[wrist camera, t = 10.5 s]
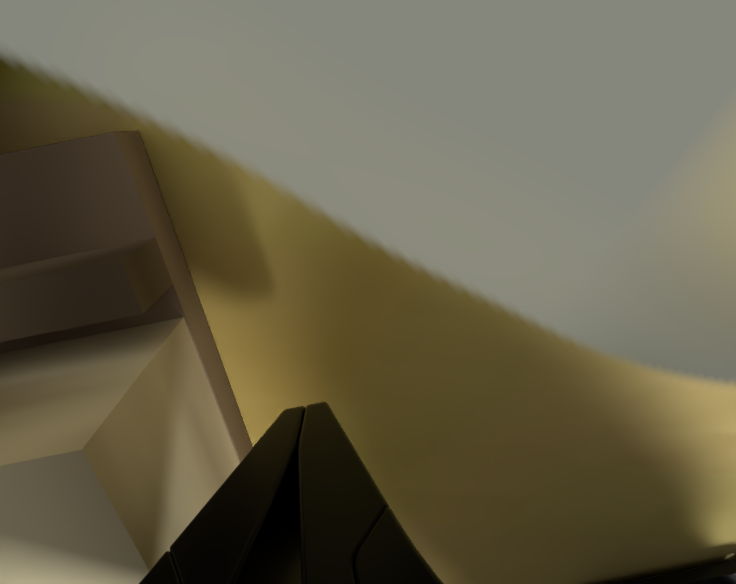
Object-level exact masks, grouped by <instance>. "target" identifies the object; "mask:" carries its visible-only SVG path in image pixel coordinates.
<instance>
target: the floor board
mask: <svg viewBox="0 0 736 584" xmlns="http://www.w3.org/2000/svg"><path fill="white" fill-rule="evenodd" d="M182 317H184V319H185V322H186V324H187V327H188V330H189V332H190V335H191V337H192V340H193V343H194V345H195V348H196V351H197V353H198V356H199V358H200V361H201V364H202V366H203V369H204V371H205V374H206V377H207V379H208V382H209V384H210V387H211V390H212V392H213V395H214V397H215V400H216V403H217V405H218V408H219V410H220V413H221V416H222V418H223V421H224V424H225V426H226V429H227V431H228V434H229V437H230V439H231V442H232V444H233V447H234V450H235V452H236V455H237V457H238V460H239V463H240V462H241V461H242V460H243V459H244V457H245V456H246V455H247V454H248V453H249V451H250V450H251V449H252V448H253V447H252V444H251V441H250V438H249V435H248V433H247V430H246V427H245V424H244V422H243V419H242V416H241V413H240V411H239V408H238V405H237V402H236V399H235V397H234V394H233V391H232V388H231V386H230V383H229V380H228V377H227V375H226V372H225V369H224V366H223V363H222V361H221V358H220V355H219V352H218V350H217V347H216V344H215V341H214V339H213V336H212V333H211V330H210V327H209V325H208V322H207V319H206V316H205V314H204V311H203V308H202V305H201V303H200V300H199V297H198V294H197V292H196V289H195V286H194V283H193V280H192V278H191V275H190V272H189V269H188V267H187V264H186V261H185V258H184V256H183V253H182V250H181V247H180V244H179V242H178V239H177V236H176V233H175V231H174V228H173V225H172V222H171V220H170V217H169V214H168V211H167V208H166V206H165V203H164V200H163V197H162V195H161V192H160V189H159V186H158V184H157V181H156V178H155V175H154V172H153V170H152V167H151V164H150V161H149V159H148V156H147V153H146V150H145V148H144V145H143V142H142V139H141V137H140V134H139V131H119V132H111V133H106V134H101V135H96V136H91V137H86V138H81V139H75V140H70V141H65V142H60V143H55V144H50V145H45V146H40V147H35V148H30V149H25V150H20V151H15V152H10V153H5V154H0V354H1V353H6V352H11V351H16V350H21V349H26V348H31V347H36V346H41V345H46V344H51V343H56V342H61V341H66V340H71V339H76V338H81V337H86V336H91V335H97V334H102V333H107V332H112V331H117V330H122V329H127V328H132V327H137V326H142V325H147V324H152V323H157V322H162V321H167V320H172V319H177V318H182Z"/></svg>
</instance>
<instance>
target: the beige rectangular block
mask: <svg viewBox="0 0 736 584" xmlns="http://www.w3.org/2000/svg"><path fill="white" fill-rule="evenodd" d="M238 465H239V460H238V457H237V455H236V452H235V450H234V447H233V444H232V442H231V439H230V437H229V434H228V431H227V429H226V426H225V424H224V421H223V418H222V416H221V413H220V410H219V408H218V405H217V403H216V400H215V397H214V395H213V392H212V390H211V387H210V384H209V382H208V379H207V377H206V374H205V371H204V369H203V366H202V364H201V361H200V358H199V356H198V353H197V351H196V348H195V345H194V343H193V340H192V337H191V335H190V332H189V330H188V327H187V324H186V322H185V319H184V317H182V318H177V319H172V320H167V321H162V322H157V323H152V324H147V325H142V326H137V327H132V328H127V329H122V330H117V331H112V332H107V333H102V334H97V335H91V336H86V337H81V338H76V339H71V340H66V341H61V342H56V343H51V344H46V345H41V346H36V347H31V348H26V349H21V350H16V351H11V352H6V353H1V354H0V584H139V583H140V582H141V580H142V579H143V578H144V577H145V576H146V575H147V573H148V572H149V571H150V570H151V569H152V568H153V566H154V565H155V564H156V563H157V562H158V560H159V559H160V558H161V557H162V556H163V554H164V553H165V552H166V551H170V546H171V545H172V544H173V543H174V541H175V540H176V539H177V538H178V537H179V535H180V534H181V533H182V532H183V531H184V529H185V528H186V527H187V526H188V525H189V523H190V522H191V521H192V520H193V519H194V517H195V516H196V515H197V514H198V513H199V511H200V510H201V509H202V508H203V507H204V505H205V504H206V503H207V502H208V501H209V499H210V498H211V497H212V496H213V495H214V493H215V492H216V491H217V490H218V489H219V487H220V486H221V485H222V484H223V483H224V481H225V480H226V479H227V478H228V477H229V475H230V474H231V473H232V472H233V471H234V469H235V468H236V467H237V466H238Z"/></svg>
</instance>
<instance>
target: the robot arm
mask: <svg viewBox="0 0 736 584" xmlns="http://www.w3.org/2000/svg"><path fill="white" fill-rule="evenodd" d="M139 584H443V582H442V581H441V580H440V579H439V578H438V576H437V575H436V574H435V572H434V571H433V570H432V569H431V567H430V566H429V565H428V563H427V562H426V561H425V559H424V558H423V557H422V555H421V554H420V553H419V552H418V550H417V549H416V547H415V546H414V544H413V543H412V541H411V540H410V538H409V537H408V535H407V534H406V532H405V531H404V529H403V528H402V526H401V525H400V523H399V521H398V520H397V518H396V516H395V515H394V513H393V511H392V510H391V509H390V508H389V505H388V504H387V502H386V500H385V499H384V497H383V495H382V494H381V492H380V490H379V489H378V487H377V485H376V484H375V482H374V480H373V479H372V477H371V475H370V474H369V472H368V470H367V469H366V467H365V465H364V464H363V462H362V460H361V459H360V457H359V455H358V454H357V452H356V450H355V449H354V447H353V445H352V444H351V442H350V440H349V439H348V437H347V435H346V434H345V432H344V430H343V429H342V427H341V425H340V424H339V422H338V420H337V419H336V417H335V415H334V414H333V412H332V410H331V409H330V407H329V405H328V404H327V403H326V402H321V403H316V404H311V405H308V406H307V407H306V408H305V407H304V406H300V407H295V408H290V409H286V410H284V411H283V412H282V413H281V414H280V416H279V417H278V418H277V419H276V420H275V422H274V423H273V424H272V425H271V426H270V428H269V429H268V430H267V431H266V432H265V434H264V435H263V436H262V437H261V438H260V440H259V441H258V442H257V443H256V444H255V445H254V447H253V448H252V449H251V450H250V451H249V453H248V454H247V455H246V456H245V457H244V459H243V460H242V461H241V462H240V463H239V465H238V466H237V467H236V468H235V469H234V471H233V472H232V473H231V474H230V475H229V477H228V478H227V479H226V480H225V481H224V483H223V484H222V485H221V486H220V487H219V489H218V490H217V491H216V492H215V493H214V495H213V496H212V497H211V498H210V499H209V501H208V502H207V503H206V504H205V505H204V507H203V508H202V509H201V510H200V511H199V513H198V514H197V515H196V516H195V517H194V519H193V520H192V521H191V522H190V523H189V525H188V526H187V527H186V528H185V529H184V531H183V532H182V533H181V534H180V535H179V537H178V538H177V539H176V540H175V541H174V543H173V544H172V545H171V546H170V551H166V552H165V553H164V554H163V556H162V557H161V558H160V559H159V560H158V562H157V563H156V564H155V565H154V566H153V568H152V569H151V570H150V571H149V572H148V573H147V575H146V576H145V577H144V578H143V579H142V580H141V582H140V583H139ZM618 584H736V560H733V561H728V562H723V563H718V564H713V565H708V566H703V567H698V568H693V569H688V570H683V571H678V572H673V573H668V574H663V575H658V576H653V577H648V578H643V579H638V580H633V581H628V582H623V583H618Z"/></svg>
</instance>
